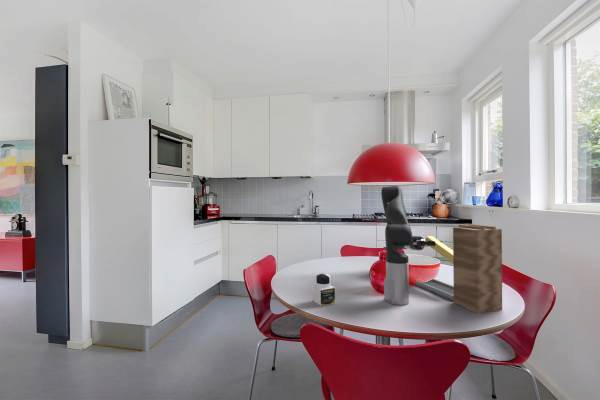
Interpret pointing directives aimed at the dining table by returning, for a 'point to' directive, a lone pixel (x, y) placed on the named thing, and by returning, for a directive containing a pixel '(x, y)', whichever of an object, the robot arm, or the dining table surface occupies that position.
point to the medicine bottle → (323, 290)
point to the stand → (477, 267)
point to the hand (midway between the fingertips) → (438, 243)
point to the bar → (441, 248)
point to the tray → (438, 288)
